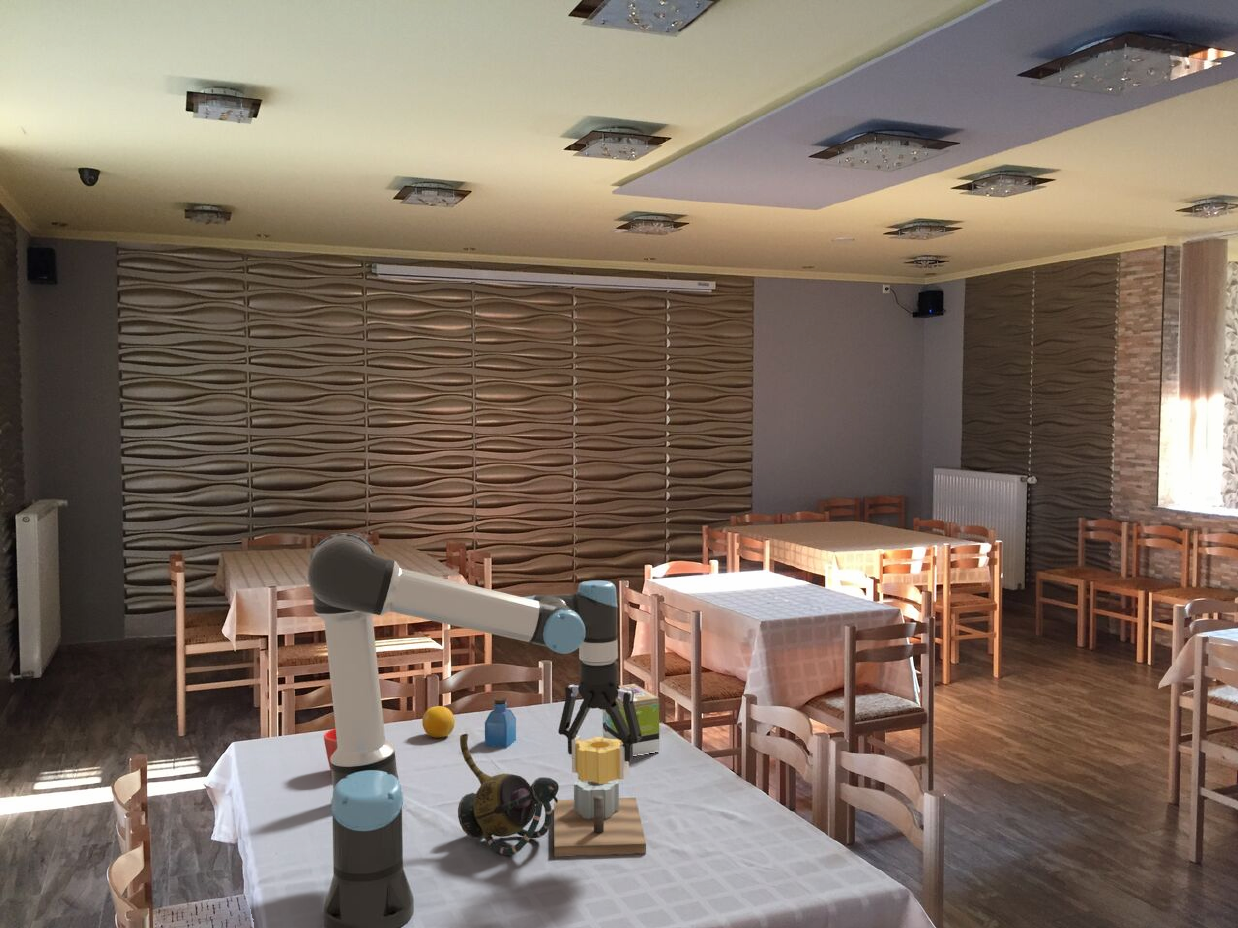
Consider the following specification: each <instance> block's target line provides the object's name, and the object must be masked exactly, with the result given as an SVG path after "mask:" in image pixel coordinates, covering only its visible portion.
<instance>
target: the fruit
mask: <svg viewBox="0 0 1238 928" xmlns="http://www.w3.org/2000/svg"><path fill="white" fill-rule="evenodd" d="M422 728H423V730H424V732H425V733H426V734H427V735H428V736H429V737H432V738H435V739H440V738H444V737H447V736H448V735H450V734H452V732H453V730H454V728H455V717H454V714H453V712H452V711H451V710H450V709H449V708H448V707H446V706H442V705H436V706H432V707H429V708H428V709H427V710H425V712H424V714H423V716H422Z"/></svg>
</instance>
